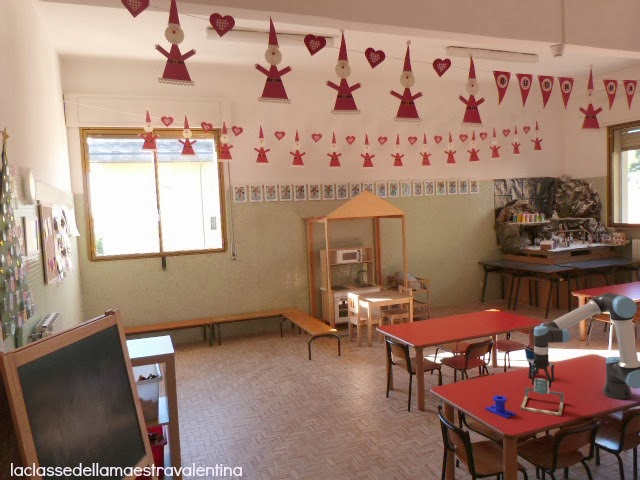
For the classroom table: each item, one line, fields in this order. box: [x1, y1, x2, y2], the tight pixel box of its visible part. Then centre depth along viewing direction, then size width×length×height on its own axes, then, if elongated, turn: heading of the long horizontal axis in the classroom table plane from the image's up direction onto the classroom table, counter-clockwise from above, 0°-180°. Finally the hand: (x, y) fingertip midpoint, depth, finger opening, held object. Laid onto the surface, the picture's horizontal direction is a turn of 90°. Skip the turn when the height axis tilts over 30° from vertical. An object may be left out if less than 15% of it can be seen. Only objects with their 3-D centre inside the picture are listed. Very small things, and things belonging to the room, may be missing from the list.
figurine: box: [524, 346, 540, 376], centre depth 329 cm, size 13×9×20 cm
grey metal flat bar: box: [524, 387, 565, 404], centre depth 287 cm, size 21×2×6 cm, turn 59°
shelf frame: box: [520, 395, 565, 417], centre depth 279 cm, size 21×20×1 cm
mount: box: [484, 394, 517, 419], centre depth 273 cm, size 15×8×9 cm, turn 31°
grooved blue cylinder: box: [535, 378, 548, 395], centre depth 277 cm, size 6×6×7 cm
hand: (541, 391), depth 278 cm, fingers closed on grooved blue cylinder, 6 cm apart
